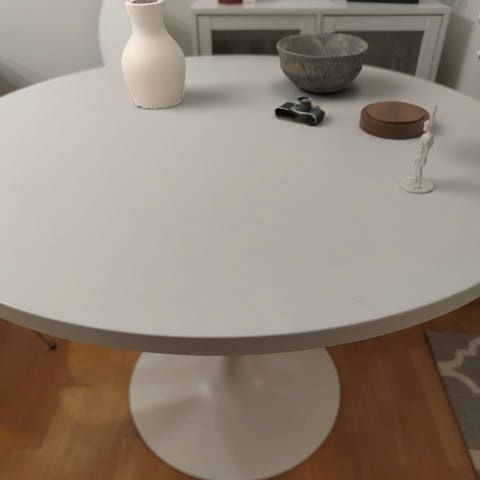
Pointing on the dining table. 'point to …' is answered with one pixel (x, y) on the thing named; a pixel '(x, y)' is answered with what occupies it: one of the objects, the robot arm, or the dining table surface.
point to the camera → (300, 111)
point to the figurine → (421, 161)
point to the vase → (152, 58)
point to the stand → (393, 120)
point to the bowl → (321, 60)
